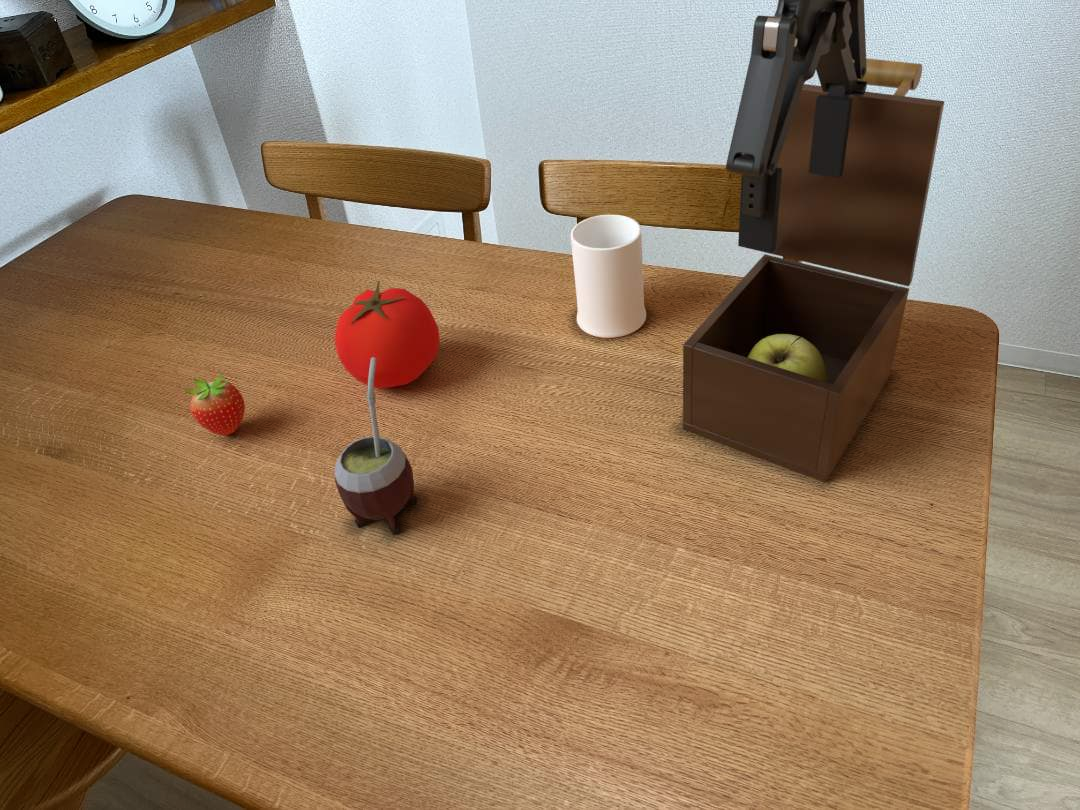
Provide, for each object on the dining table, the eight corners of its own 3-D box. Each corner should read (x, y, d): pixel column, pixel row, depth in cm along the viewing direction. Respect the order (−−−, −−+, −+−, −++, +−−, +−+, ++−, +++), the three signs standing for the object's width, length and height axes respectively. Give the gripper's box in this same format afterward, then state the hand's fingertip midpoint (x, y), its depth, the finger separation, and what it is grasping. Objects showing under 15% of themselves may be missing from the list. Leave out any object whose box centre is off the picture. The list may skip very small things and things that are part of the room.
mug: (599, 280, 106) (593, 197, 98) (662, 289, 103) (661, 203, 95) (566, 332, 98) (556, 246, 90) (633, 343, 95) (629, 254, 87)
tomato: (421, 333, 102) (401, 256, 94) (464, 378, 94) (446, 298, 86) (333, 372, 97) (305, 295, 90) (370, 422, 90) (343, 342, 82)
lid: (941, 106, 64) (978, 48, 69) (763, 84, 72) (807, 33, 76) (908, 286, 78) (941, 228, 83) (763, 252, 86) (800, 200, 90)
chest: (825, 482, 76) (840, 394, 69) (682, 429, 83) (682, 344, 76) (890, 375, 86) (909, 288, 79) (757, 336, 93) (764, 253, 86)
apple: (799, 363, 86) (820, 304, 77) (825, 427, 82) (850, 372, 73) (726, 376, 86) (739, 318, 77) (748, 440, 81) (764, 387, 73)
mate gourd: (362, 551, 76) (315, 436, 66) (341, 498, 81) (295, 384, 72) (436, 520, 78) (401, 403, 68) (410, 469, 83) (375, 355, 73)
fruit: (240, 411, 94) (214, 357, 89) (263, 429, 91) (238, 374, 86) (199, 437, 91) (169, 382, 86) (221, 456, 88) (193, 401, 83)
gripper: (837, -131, 61) (809, 141, 75) (674, -43, 47) (676, 272, 60) (942, -133, 57) (892, 153, 71) (799, -39, 43) (771, 296, 57)
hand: (793, 209), depth 66 cm, fingers open, 13 cm apart
